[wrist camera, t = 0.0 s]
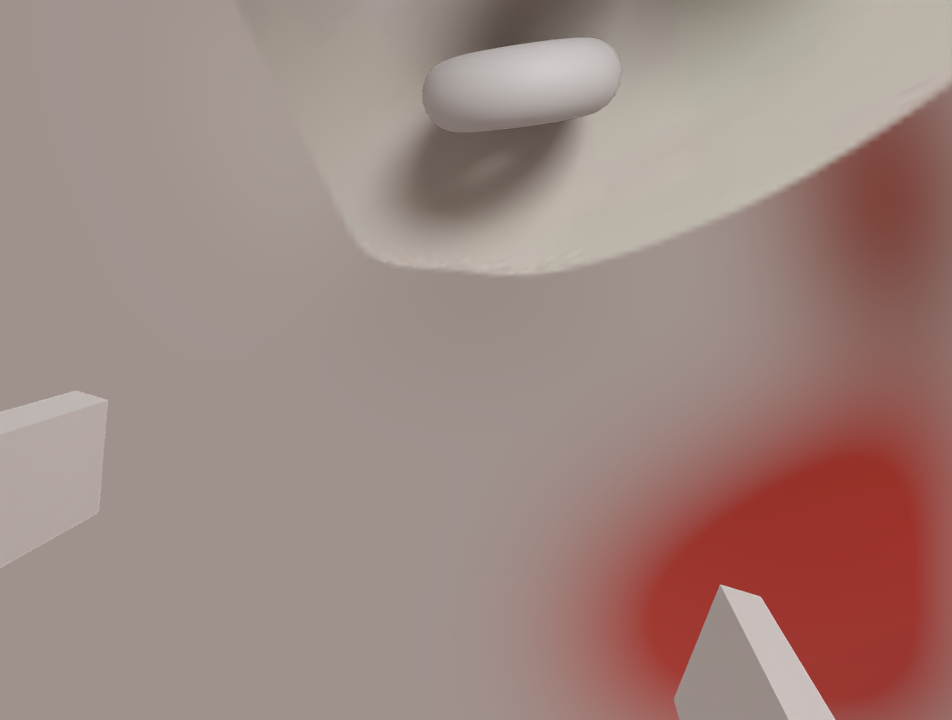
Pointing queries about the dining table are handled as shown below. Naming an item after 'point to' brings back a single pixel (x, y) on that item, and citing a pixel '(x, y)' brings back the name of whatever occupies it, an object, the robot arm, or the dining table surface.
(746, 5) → the dining table surface
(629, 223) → the dining table surface
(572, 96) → the donut
